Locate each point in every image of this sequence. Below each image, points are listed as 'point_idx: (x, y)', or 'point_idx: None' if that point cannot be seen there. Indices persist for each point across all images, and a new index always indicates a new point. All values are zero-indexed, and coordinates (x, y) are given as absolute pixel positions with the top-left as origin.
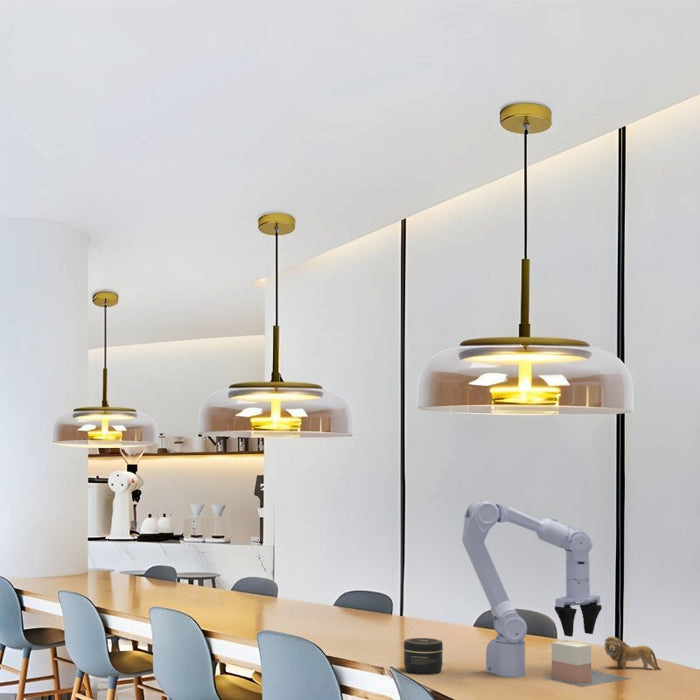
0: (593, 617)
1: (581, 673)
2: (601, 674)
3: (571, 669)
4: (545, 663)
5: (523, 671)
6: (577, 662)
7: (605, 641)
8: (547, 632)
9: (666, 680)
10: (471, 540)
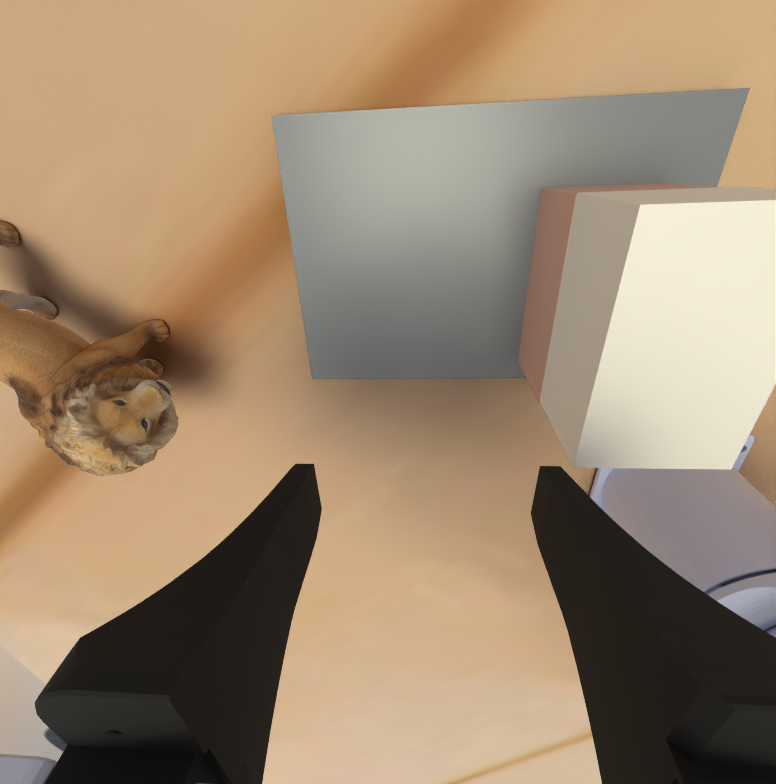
0: (258, 565)
1: (657, 187)
2: (341, 295)
3: None
4: (320, 566)
5: None
6: (751, 188)
7: (146, 459)
8: (49, 737)
9: (27, 46)
10: None
